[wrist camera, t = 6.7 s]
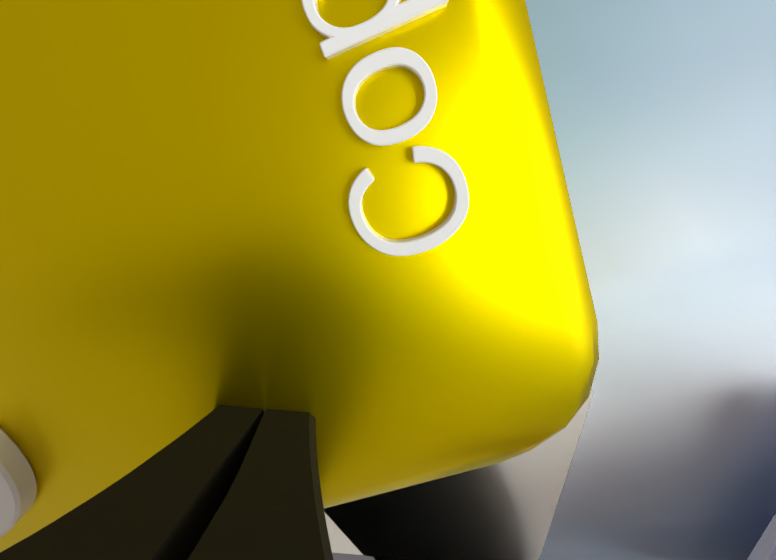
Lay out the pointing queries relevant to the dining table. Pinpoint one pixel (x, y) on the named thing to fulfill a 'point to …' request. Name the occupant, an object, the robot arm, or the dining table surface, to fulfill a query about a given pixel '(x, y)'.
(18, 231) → the element tile
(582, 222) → the dining table surface
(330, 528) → the letter
